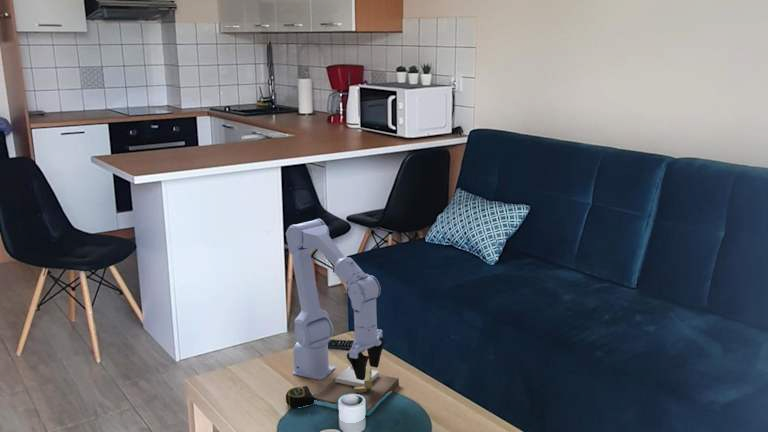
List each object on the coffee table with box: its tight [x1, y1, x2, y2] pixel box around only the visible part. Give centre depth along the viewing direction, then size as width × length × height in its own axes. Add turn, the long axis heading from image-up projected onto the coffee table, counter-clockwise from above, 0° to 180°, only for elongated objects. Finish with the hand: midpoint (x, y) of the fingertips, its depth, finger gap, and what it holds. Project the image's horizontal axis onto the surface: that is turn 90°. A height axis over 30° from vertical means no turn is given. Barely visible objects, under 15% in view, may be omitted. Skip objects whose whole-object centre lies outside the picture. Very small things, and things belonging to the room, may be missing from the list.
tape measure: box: [285, 385, 314, 409], centre depth 182 cm, size 7×7×4 cm
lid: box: [334, 364, 380, 387], centre depth 190 cm, size 9×8×2 cm
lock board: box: [313, 374, 400, 412], centre depth 186 cm, size 16×18×2 cm
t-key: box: [354, 367, 372, 392], centre depth 182 cm, size 5×7×5 cm, turn 3°
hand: (367, 372), depth 182 cm, fingers open, 7 cm apart
